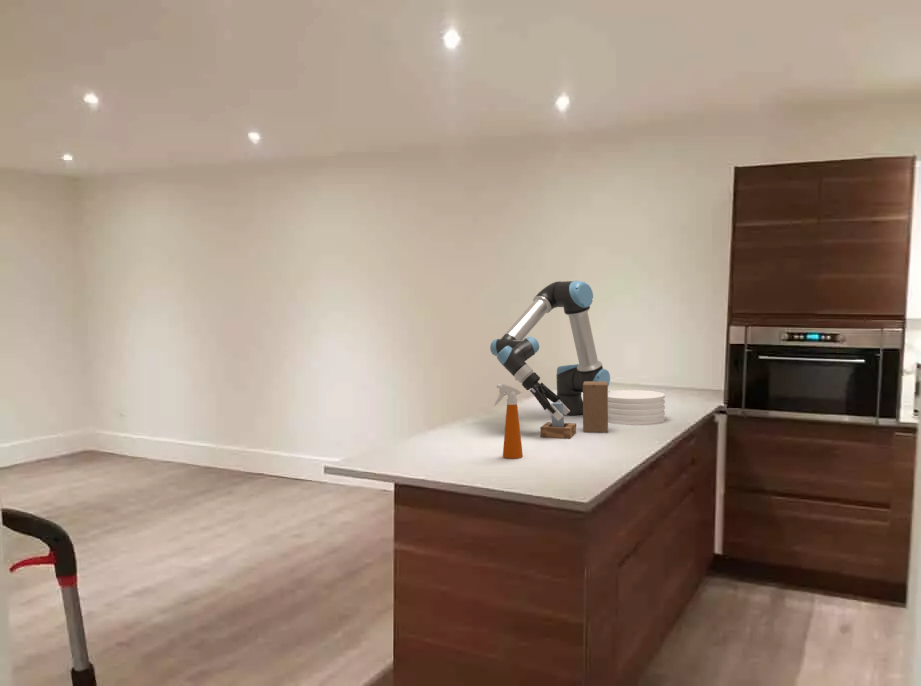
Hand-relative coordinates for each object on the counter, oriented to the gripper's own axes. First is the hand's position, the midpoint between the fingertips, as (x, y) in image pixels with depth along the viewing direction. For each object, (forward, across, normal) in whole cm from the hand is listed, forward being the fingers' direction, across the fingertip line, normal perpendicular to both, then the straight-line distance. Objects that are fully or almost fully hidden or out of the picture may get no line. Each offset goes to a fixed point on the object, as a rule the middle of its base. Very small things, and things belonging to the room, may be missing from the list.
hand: (564, 415), depth 303 cm
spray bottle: (-2, +44, -13) cm, 46 cm away
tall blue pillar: (+4, 0, -7) cm, 8 cm away
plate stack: (+21, -44, +9) cm, 50 cm away
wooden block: (+13, -14, +1) cm, 19 cm away
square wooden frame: (+4, 0, -7) cm, 8 cm away
